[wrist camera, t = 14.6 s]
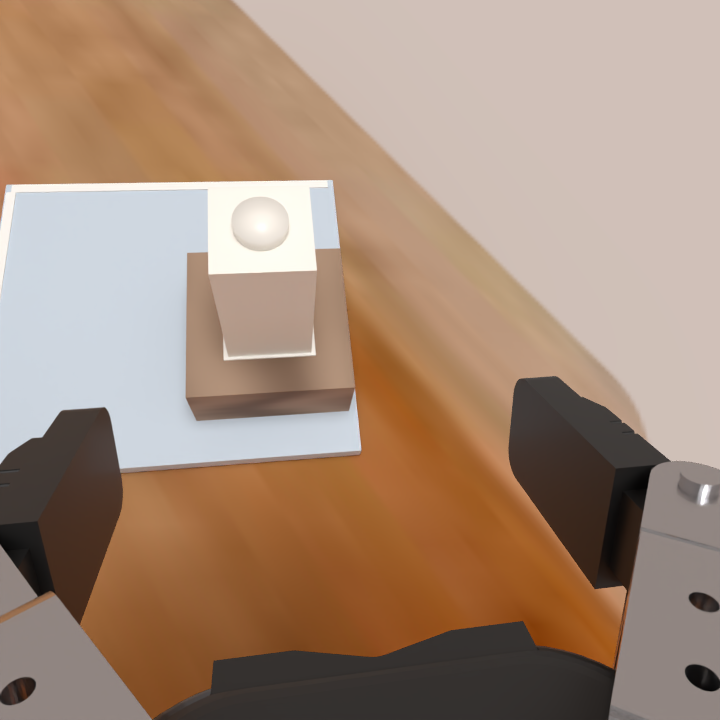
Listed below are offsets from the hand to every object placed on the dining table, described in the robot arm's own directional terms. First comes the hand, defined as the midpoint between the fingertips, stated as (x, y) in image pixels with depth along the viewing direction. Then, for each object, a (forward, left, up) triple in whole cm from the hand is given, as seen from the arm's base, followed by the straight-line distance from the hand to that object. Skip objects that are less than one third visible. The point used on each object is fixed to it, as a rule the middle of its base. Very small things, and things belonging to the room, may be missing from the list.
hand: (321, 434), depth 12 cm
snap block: (-1, +12, -19) cm, 23 cm away
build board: (-7, +16, -24) cm, 29 cm away
